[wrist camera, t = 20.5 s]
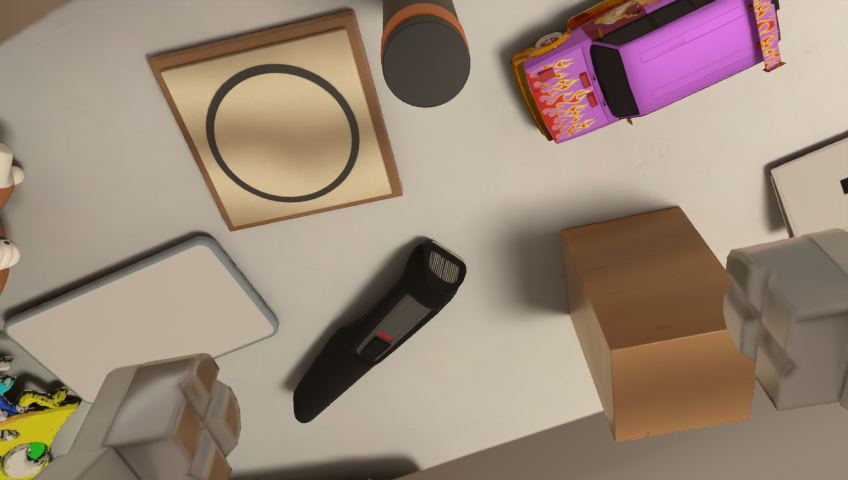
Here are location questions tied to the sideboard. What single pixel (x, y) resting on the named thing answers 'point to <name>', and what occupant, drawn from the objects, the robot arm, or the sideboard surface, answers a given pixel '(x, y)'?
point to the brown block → (655, 325)
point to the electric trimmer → (381, 328)
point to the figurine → (3, 179)
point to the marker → (423, 51)
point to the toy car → (640, 59)
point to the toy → (29, 427)
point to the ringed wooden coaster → (283, 120)
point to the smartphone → (145, 317)
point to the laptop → (814, 190)
